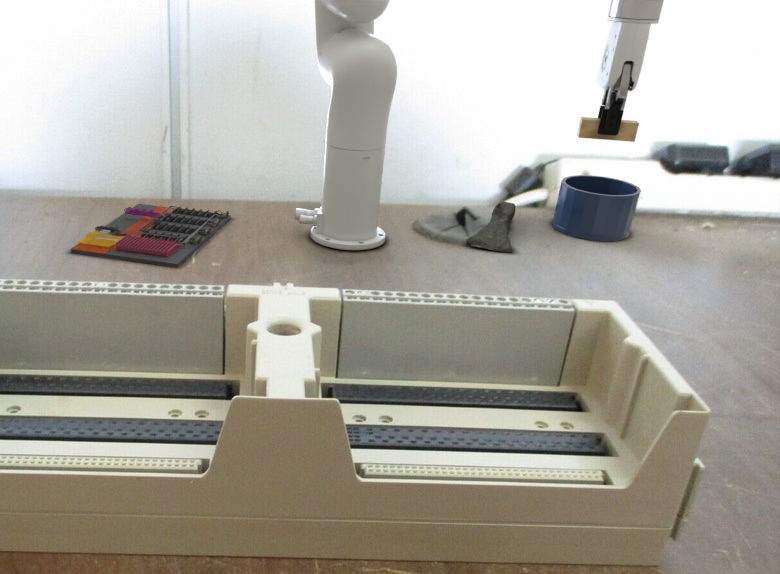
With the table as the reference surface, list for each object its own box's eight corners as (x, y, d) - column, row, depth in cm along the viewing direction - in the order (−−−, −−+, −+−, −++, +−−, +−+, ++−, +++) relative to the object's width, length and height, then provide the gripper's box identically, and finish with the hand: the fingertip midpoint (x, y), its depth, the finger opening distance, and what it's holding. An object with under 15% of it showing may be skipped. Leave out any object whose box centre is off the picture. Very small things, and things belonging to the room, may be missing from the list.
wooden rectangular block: (578, 137, 129) (582, 119, 127) (576, 135, 130) (580, 116, 129) (634, 141, 127) (639, 123, 126) (632, 139, 129) (637, 120, 127)
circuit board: (177, 267, 115) (177, 250, 113) (71, 252, 118) (69, 235, 117) (230, 218, 136) (230, 203, 134) (138, 206, 139) (137, 191, 138)
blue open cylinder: (556, 236, 134) (566, 191, 130) (549, 214, 146) (558, 172, 142) (635, 244, 132) (647, 199, 128) (621, 221, 144) (633, 179, 140)
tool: (509, 261, 126) (514, 244, 125) (463, 250, 128) (467, 234, 126) (523, 214, 142) (527, 198, 140) (482, 205, 144) (486, 189, 142)
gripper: (602, 6, 126) (577, 122, 136) (617, 13, 113) (589, 141, 122) (650, 9, 125) (621, 125, 134) (671, 16, 112) (638, 145, 121)
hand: (606, 132), depth 128 cm, fingers closed on wooden rectangular block, 2 cm apart
